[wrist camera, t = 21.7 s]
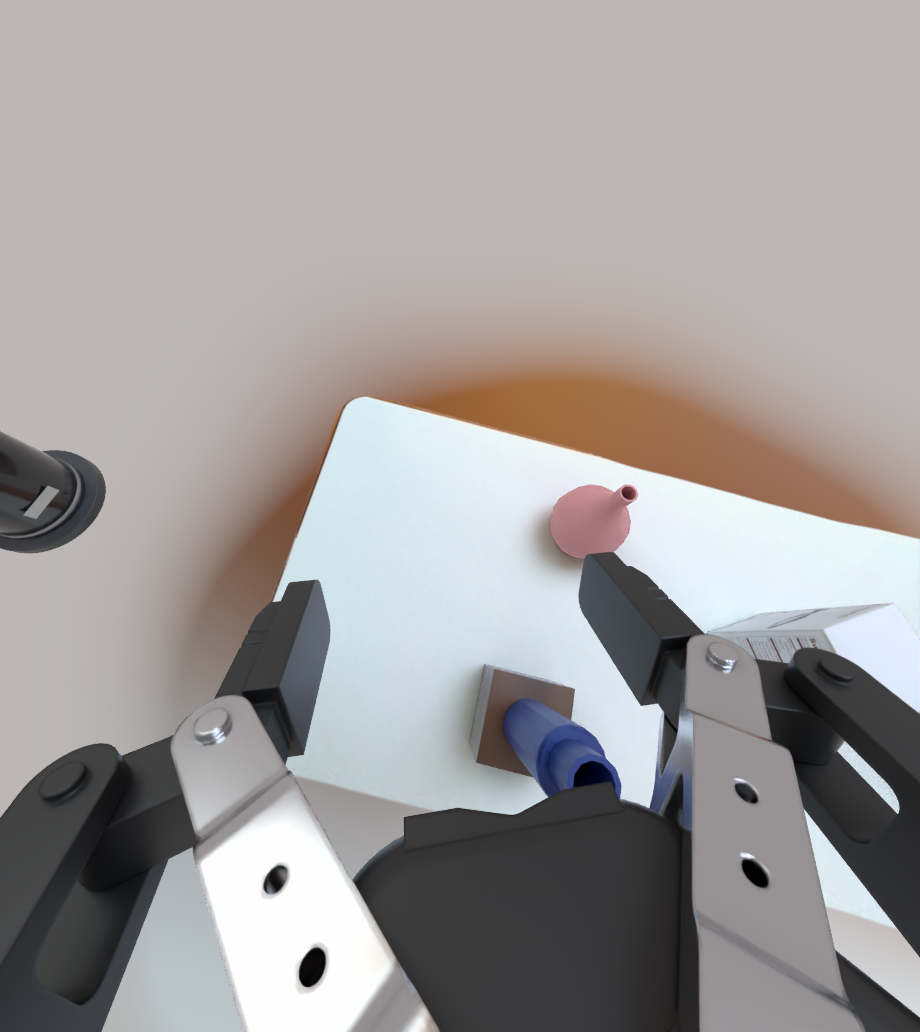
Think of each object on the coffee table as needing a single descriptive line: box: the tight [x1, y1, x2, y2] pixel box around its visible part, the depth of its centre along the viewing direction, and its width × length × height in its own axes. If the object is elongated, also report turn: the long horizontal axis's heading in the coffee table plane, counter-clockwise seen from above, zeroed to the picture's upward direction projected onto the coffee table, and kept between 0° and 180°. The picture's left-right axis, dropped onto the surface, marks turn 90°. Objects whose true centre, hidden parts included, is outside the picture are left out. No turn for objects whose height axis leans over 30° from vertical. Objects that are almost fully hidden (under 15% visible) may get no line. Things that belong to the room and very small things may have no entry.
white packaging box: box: [708, 603, 920, 714], centre depth 33 cm, size 7×7×13 cm
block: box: [469, 664, 575, 777], centre depth 33 cm, size 7×7×6 cm
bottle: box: [503, 699, 621, 799], centre depth 24 cm, size 4×4×13 cm
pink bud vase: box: [551, 485, 638, 559], centre depth 36 cm, size 8×8×12 cm
